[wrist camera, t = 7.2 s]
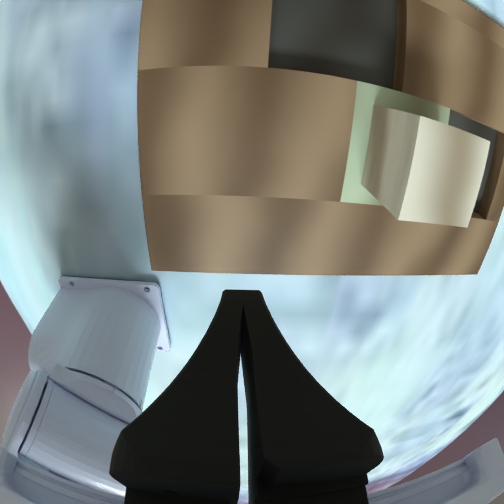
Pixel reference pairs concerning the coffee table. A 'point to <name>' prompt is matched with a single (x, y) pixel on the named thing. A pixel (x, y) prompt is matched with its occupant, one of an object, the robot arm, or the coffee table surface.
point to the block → (423, 167)
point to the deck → (306, 131)
